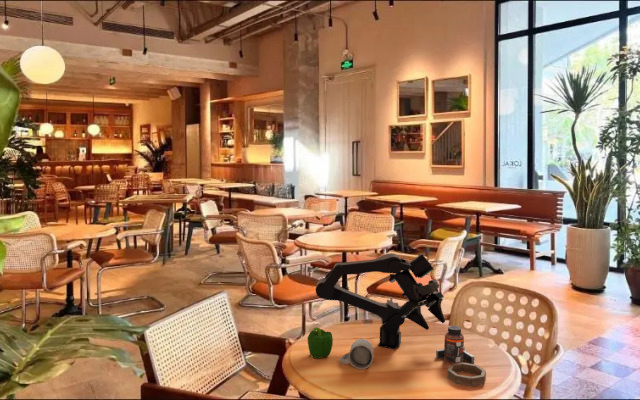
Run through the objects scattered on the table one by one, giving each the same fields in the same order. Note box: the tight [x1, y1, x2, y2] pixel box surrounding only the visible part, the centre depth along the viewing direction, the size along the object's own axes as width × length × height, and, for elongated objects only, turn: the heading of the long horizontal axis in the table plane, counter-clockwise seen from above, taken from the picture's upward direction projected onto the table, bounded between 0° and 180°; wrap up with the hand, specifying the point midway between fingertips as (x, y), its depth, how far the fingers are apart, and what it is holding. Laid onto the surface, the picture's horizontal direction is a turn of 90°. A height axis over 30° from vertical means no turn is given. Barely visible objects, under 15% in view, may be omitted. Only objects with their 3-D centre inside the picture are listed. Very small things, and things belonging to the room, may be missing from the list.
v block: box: [435, 346, 475, 365], centre depth 168 cm, size 8×12×2 cm, turn 65°
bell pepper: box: [307, 326, 334, 359], centre depth 169 cm, size 8×8×10 cm
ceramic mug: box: [339, 338, 374, 370], centre depth 163 cm, size 11×8×8 cm
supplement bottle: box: [443, 325, 465, 365], centre depth 164 cm, size 6×6×11 cm
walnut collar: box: [446, 361, 487, 388], centre depth 153 cm, size 10×10×2 cm
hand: (436, 325), depth 168 cm, fingers open, 9 cm apart
